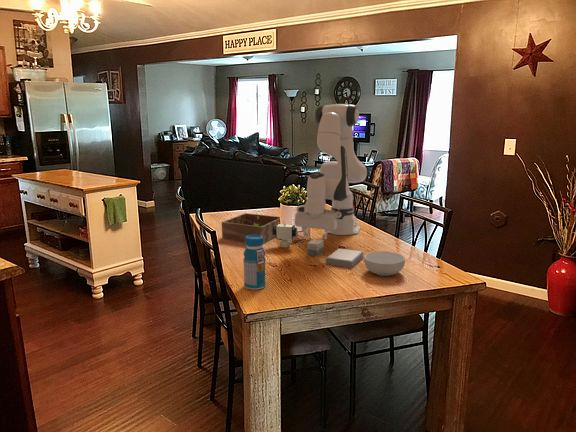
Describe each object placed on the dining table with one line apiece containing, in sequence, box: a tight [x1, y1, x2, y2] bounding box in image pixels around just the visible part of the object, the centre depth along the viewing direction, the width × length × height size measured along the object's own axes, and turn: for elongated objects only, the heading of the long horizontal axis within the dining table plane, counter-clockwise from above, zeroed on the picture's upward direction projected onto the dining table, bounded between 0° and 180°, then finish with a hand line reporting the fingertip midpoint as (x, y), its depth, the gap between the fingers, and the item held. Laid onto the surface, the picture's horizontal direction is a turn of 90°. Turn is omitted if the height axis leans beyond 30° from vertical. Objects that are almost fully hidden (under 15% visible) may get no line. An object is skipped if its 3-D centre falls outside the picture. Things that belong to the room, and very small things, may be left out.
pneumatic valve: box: [273, 222, 298, 249], centre depth 234 cm, size 6×12×12 cm, turn 79°
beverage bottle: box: [242, 235, 266, 291], centre depth 181 cm, size 8×8×20 cm
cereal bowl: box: [363, 250, 406, 277], centre depth 198 cm, size 17×17×7 cm
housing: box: [306, 238, 325, 257], centre depth 224 cm, size 8×5×6 cm, turn 154°
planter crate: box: [221, 212, 281, 245], centre depth 254 cm, size 24×24×9 cm
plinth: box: [325, 248, 364, 269], centre depth 214 cm, size 16×12×3 cm
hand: (315, 237), depth 222 cm, fingers open, 8 cm apart
